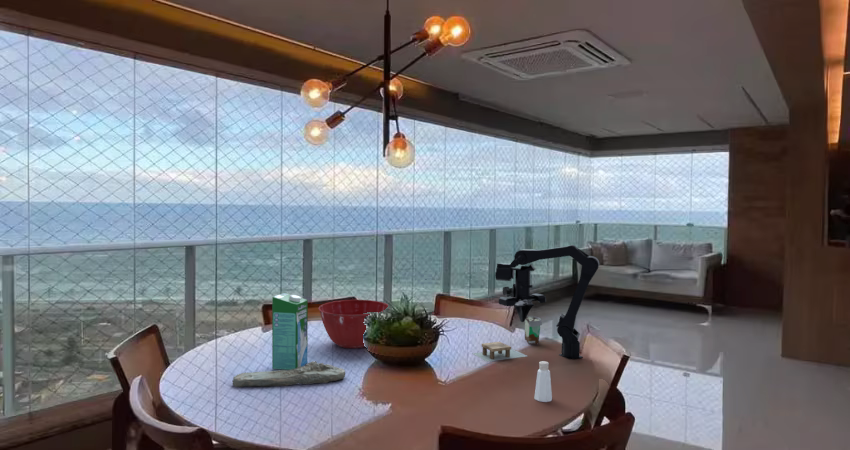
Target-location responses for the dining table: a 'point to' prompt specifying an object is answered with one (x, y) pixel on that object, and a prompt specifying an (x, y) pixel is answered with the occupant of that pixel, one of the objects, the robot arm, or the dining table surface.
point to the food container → (532, 329)
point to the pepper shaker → (543, 383)
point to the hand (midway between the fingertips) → (522, 321)
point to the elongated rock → (291, 376)
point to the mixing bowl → (348, 320)
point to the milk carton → (289, 331)
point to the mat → (499, 355)
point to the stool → (496, 348)
